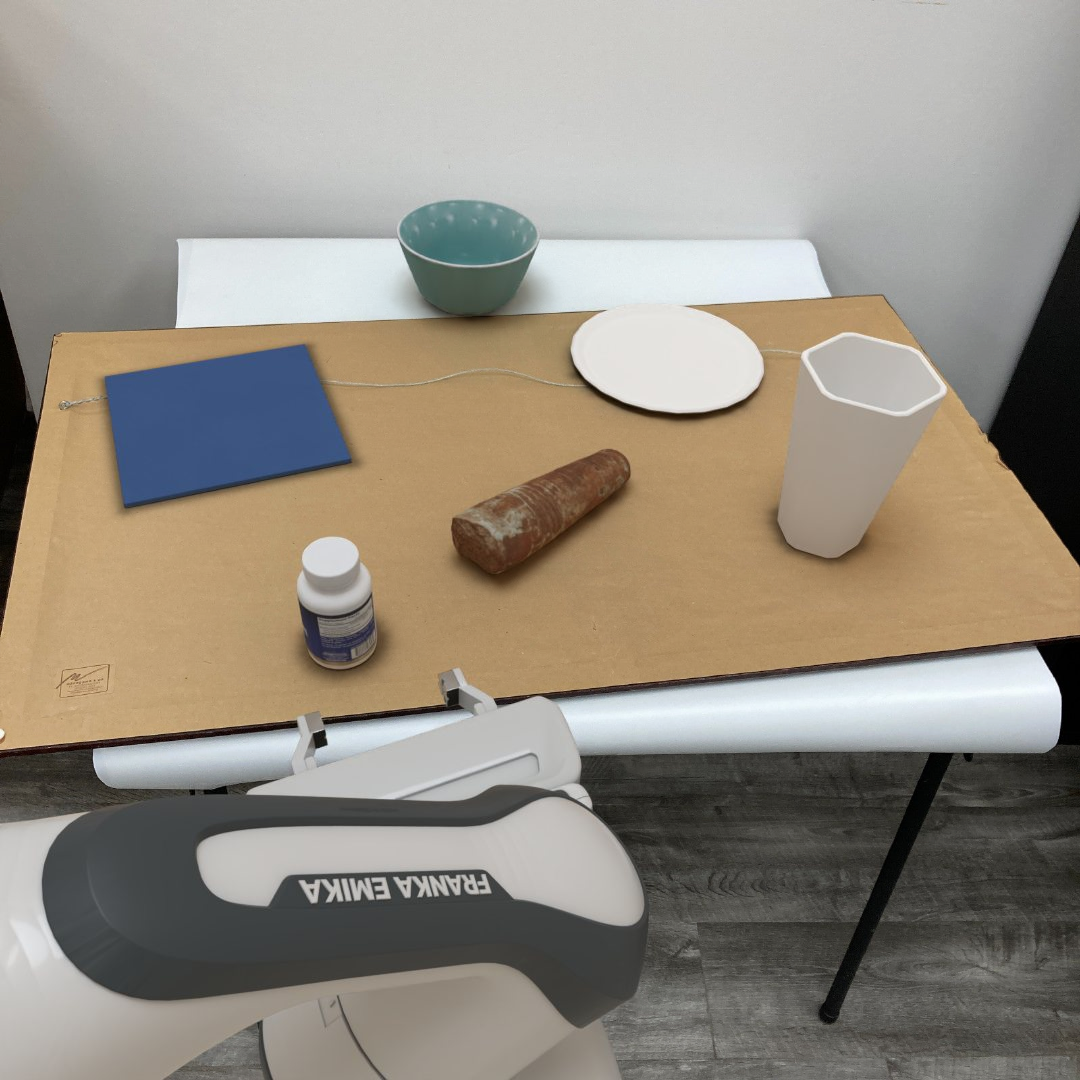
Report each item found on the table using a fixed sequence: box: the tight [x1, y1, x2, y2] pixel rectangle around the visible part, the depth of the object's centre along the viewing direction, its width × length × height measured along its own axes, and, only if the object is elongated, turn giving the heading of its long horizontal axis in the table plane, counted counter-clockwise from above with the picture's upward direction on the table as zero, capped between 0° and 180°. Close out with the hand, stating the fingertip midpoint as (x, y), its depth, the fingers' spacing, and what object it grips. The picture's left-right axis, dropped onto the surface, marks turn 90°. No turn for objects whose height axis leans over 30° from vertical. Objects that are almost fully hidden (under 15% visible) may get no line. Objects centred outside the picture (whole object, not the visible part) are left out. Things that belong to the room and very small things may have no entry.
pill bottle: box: [296, 536, 378, 670], centre depth 72 cm, size 5×5×10 cm
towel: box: [104, 343, 352, 509], centre depth 94 cm, size 20×20×1 cm
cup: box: [776, 331, 948, 559], centre depth 82 cm, size 11×10×17 cm
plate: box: [570, 302, 765, 416], centre depth 105 cm, size 21×21×1 cm
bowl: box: [396, 198, 541, 317], centre depth 110 cm, size 16×16×8 cm
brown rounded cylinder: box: [450, 448, 632, 575], centre depth 84 cm, size 6×19×6 cm, turn 133°
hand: (379, 696), depth 64 cm, fingers open, 8 cm apart
